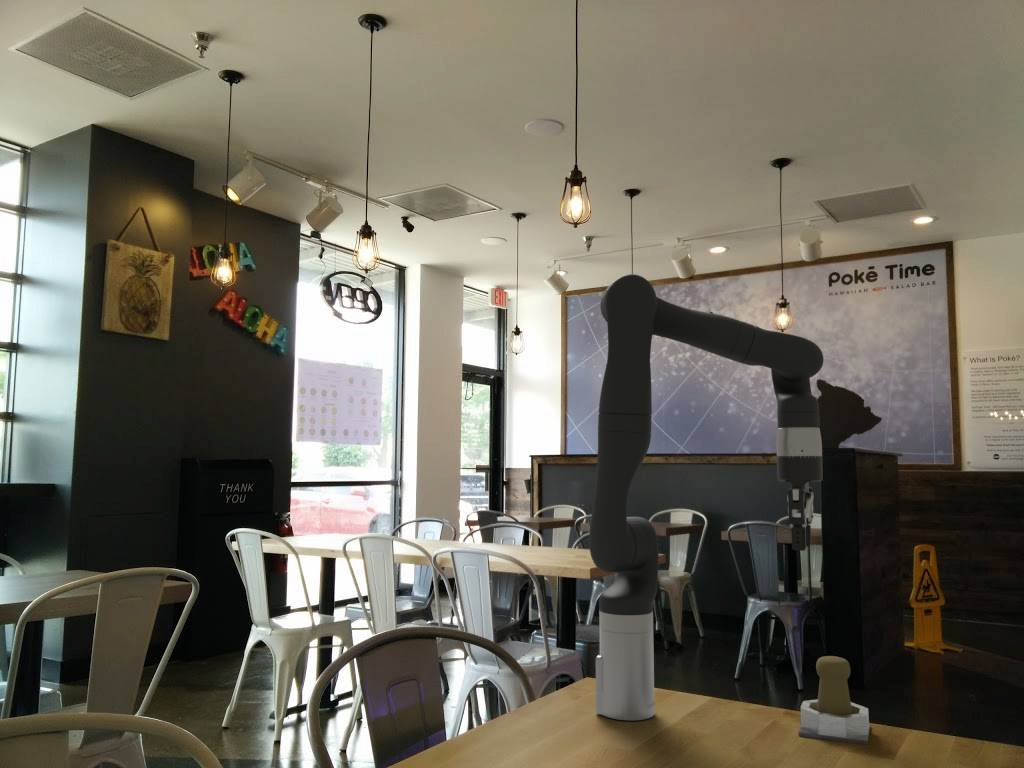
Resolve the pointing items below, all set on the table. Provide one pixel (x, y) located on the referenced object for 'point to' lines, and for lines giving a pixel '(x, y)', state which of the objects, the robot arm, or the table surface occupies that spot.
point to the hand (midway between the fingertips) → (801, 548)
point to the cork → (833, 686)
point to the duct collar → (835, 724)
